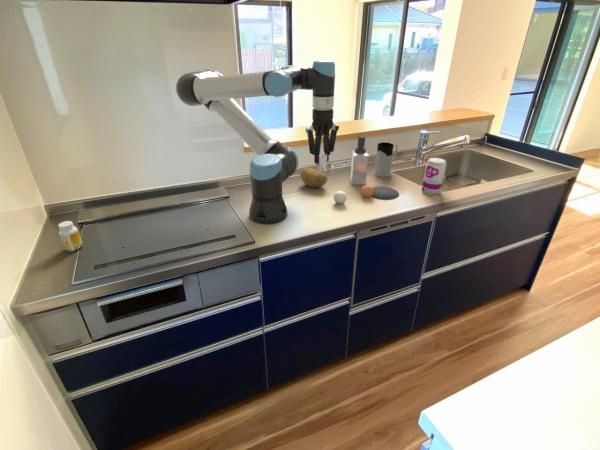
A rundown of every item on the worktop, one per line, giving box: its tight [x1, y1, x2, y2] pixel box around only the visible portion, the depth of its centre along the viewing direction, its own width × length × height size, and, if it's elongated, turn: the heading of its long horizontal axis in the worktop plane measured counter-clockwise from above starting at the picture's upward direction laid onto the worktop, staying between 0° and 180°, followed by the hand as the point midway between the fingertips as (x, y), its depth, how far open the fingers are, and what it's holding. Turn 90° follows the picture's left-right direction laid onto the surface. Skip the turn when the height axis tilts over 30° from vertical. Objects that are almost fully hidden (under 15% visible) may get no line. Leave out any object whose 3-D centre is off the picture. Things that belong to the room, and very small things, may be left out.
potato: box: [300, 167, 328, 188], centre depth 160 cm, size 10×14×8 cm
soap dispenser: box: [350, 135, 369, 186], centre depth 162 cm, size 6×9×22 cm
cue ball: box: [333, 190, 348, 205], centre depth 145 cm, size 6×6×6 cm
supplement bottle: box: [57, 220, 83, 251], centre depth 115 cm, size 5×5×10 cm
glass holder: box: [373, 142, 398, 178], centre depth 174 cm, size 9×14×15 cm, turn 130°
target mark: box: [370, 185, 400, 201], centre depth 155 cm, size 14×14×1 cm
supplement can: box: [421, 157, 447, 196], centre depth 152 cm, size 8×8×15 cm
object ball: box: [360, 184, 374, 198], centre depth 150 cm, size 6×6×6 cm
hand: (321, 170), depth 134 cm, fingers open, 2 cm apart
